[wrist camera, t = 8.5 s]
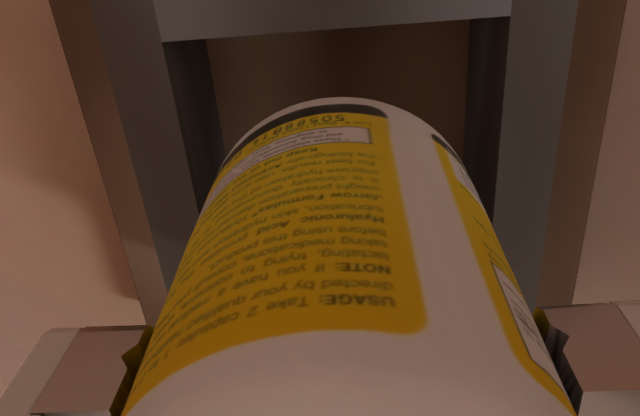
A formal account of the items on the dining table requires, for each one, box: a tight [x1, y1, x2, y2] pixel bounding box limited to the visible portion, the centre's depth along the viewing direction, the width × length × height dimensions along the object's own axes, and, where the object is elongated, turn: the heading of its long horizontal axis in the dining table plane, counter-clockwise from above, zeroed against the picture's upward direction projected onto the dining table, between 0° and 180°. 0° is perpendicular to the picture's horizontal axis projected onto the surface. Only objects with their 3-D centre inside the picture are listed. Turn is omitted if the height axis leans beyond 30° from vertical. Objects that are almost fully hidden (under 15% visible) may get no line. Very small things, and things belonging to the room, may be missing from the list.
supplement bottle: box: [121, 97, 577, 416], centre depth 8 cm, size 5×5×10 cm
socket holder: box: [49, 0, 627, 328], centre depth 14 cm, size 14×14×5 cm
